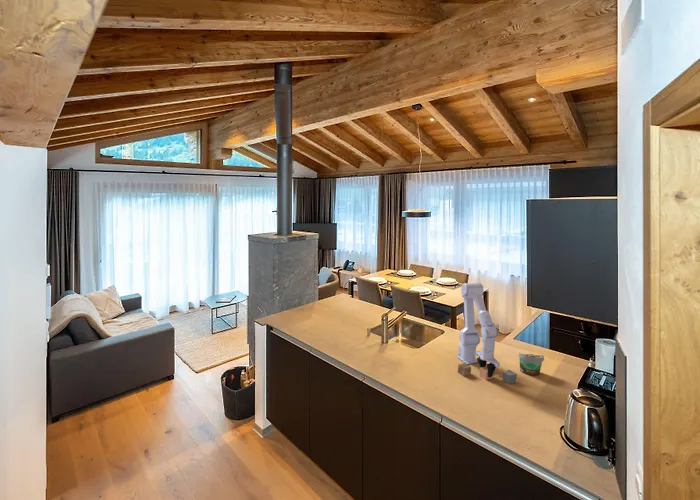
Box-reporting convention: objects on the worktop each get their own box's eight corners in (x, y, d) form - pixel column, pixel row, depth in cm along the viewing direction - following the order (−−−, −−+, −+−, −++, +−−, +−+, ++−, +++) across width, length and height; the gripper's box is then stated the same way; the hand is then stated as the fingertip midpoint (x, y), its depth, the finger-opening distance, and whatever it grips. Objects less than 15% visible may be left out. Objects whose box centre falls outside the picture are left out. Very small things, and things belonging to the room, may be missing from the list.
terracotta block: (479, 375, 179) (480, 367, 178) (486, 374, 181) (487, 366, 180) (485, 380, 175) (486, 371, 174) (492, 378, 177) (493, 370, 176)
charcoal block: (502, 379, 176) (502, 371, 175) (509, 378, 177) (509, 369, 177) (509, 384, 172) (509, 375, 171) (516, 382, 173) (516, 373, 172)
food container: (520, 376, 179) (522, 357, 177) (516, 370, 185) (518, 352, 183) (546, 378, 177) (548, 359, 176) (541, 372, 183) (543, 354, 182)
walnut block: (457, 372, 183) (458, 364, 182) (464, 370, 184) (465, 362, 184) (463, 376, 179) (464, 368, 178) (470, 374, 180) (471, 366, 179)
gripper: (471, 344, 181) (470, 368, 183) (492, 356, 167) (490, 382, 170) (482, 342, 183) (481, 366, 185) (504, 353, 170) (502, 379, 172)
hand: (486, 374), depth 178 cm, fingers closed on terracotta block, 4 cm apart
